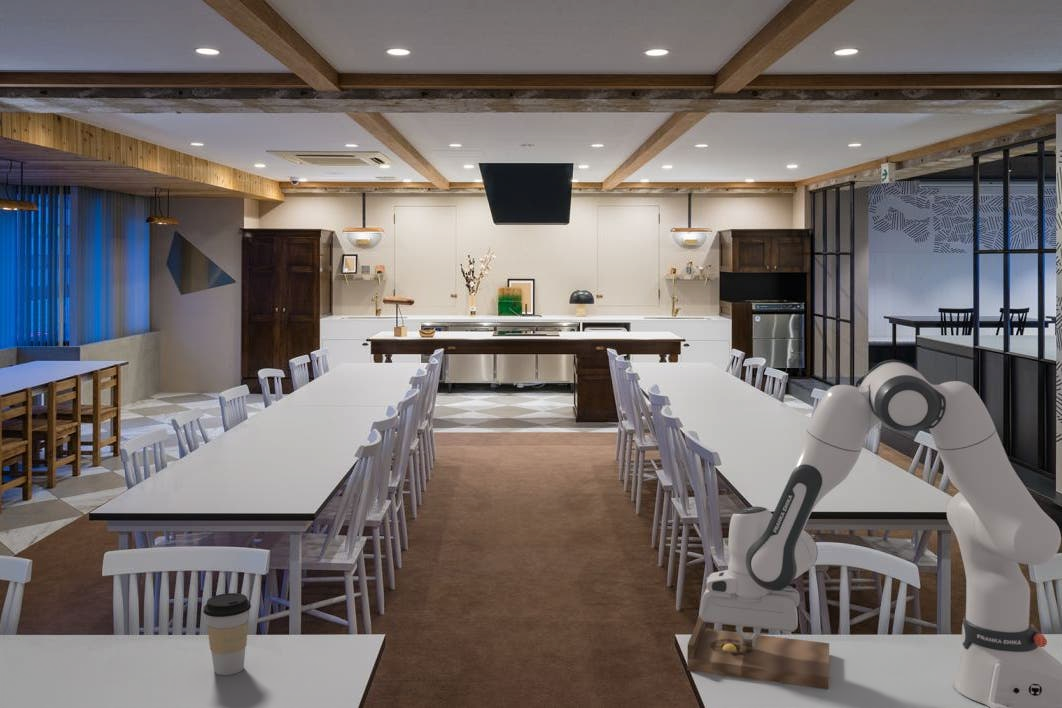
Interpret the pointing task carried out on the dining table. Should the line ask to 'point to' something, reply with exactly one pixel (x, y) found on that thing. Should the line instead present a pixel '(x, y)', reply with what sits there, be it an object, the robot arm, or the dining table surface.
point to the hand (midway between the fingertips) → (748, 645)
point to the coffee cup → (227, 631)
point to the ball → (729, 647)
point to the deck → (759, 657)
